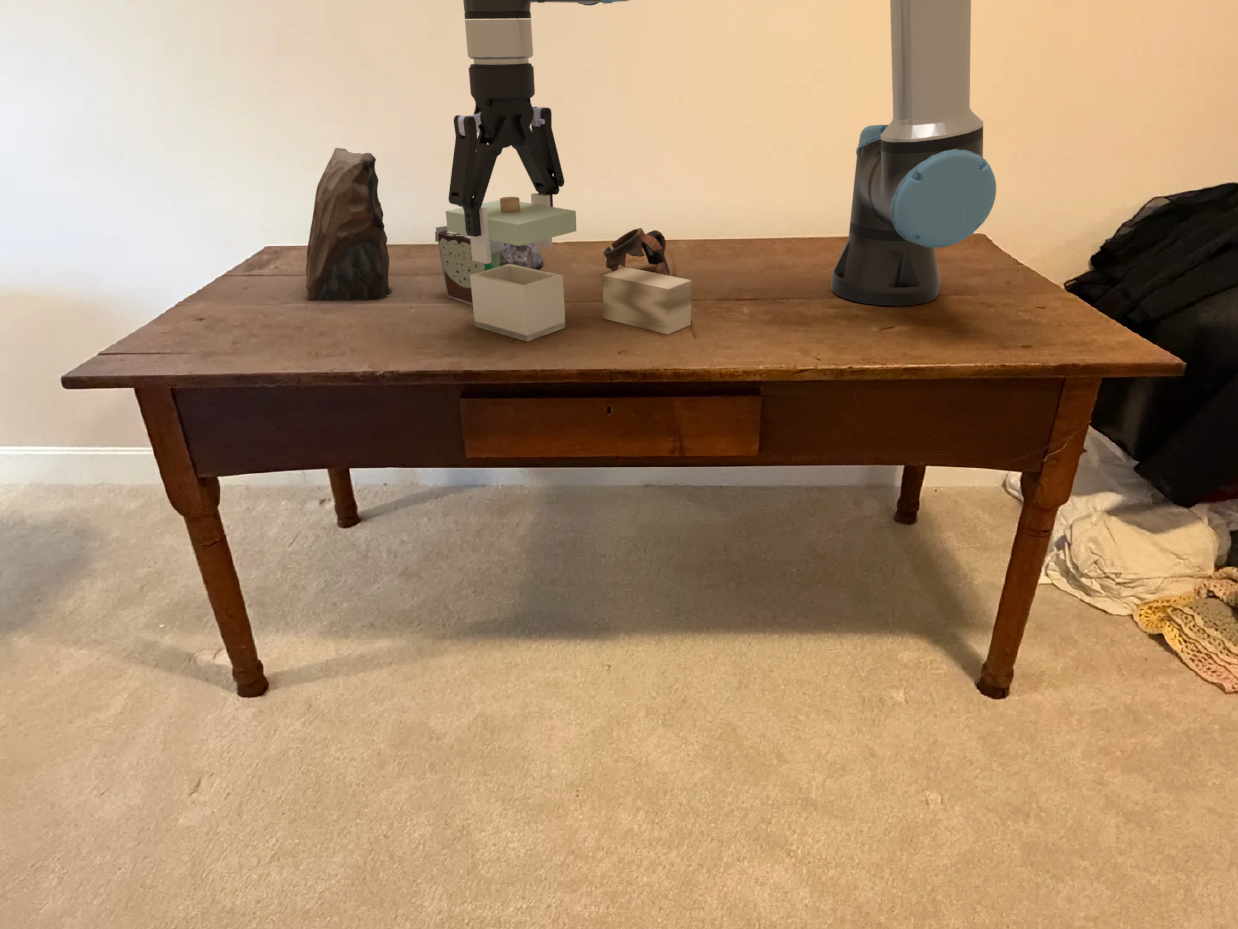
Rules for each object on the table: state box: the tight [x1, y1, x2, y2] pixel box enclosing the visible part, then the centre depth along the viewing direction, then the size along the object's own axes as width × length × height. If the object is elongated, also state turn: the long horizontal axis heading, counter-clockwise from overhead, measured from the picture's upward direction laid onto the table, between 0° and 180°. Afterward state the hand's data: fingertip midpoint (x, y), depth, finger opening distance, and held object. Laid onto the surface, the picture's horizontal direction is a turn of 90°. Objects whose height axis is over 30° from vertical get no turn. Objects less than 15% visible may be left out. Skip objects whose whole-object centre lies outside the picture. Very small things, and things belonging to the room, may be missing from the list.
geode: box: [500, 242, 544, 270], centre depth 139 cm, size 20×12×10 cm, turn 172°
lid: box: [445, 196, 577, 246], centre depth 108 cm, size 13×10×4 cm
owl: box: [305, 147, 392, 302], centre depth 127 cm, size 13×13×20 cm
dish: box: [470, 264, 566, 343], centre depth 113 cm, size 10×7×7 cm
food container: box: [434, 225, 504, 306], centre depth 125 cm, size 12×6×10 cm, turn 45°
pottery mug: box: [602, 227, 671, 276], centre depth 137 cm, size 12×10×8 cm
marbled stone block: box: [602, 266, 693, 336], centre depth 114 cm, size 11×5×6 cm, turn 50°
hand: (513, 253), depth 110 cm, fingers closed on lid, 10 cm apart
